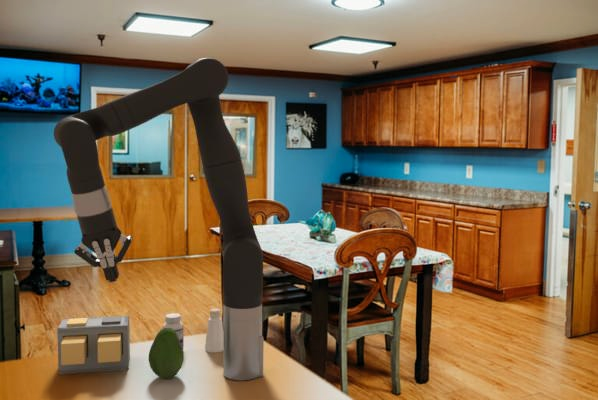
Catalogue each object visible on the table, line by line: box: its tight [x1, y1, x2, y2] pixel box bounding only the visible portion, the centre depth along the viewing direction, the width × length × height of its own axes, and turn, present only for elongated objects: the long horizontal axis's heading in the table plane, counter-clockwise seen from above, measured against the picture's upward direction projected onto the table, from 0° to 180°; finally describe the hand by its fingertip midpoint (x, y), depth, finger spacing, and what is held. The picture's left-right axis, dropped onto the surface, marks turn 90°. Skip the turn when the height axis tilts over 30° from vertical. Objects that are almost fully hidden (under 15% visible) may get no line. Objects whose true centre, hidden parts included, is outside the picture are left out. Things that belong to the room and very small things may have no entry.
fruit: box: [148, 327, 184, 380], centre depth 139 cm, size 8×8×12 cm
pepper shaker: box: [204, 308, 223, 354], centre depth 158 cm, size 5×5×11 cm
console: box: [56, 315, 131, 375], centre depth 145 cm, size 16×8×12 cm, turn 103°
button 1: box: [61, 335, 88, 365], centre depth 140 cm, size 5×8×5 cm, turn 13°
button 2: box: [98, 333, 122, 363], centre depth 141 cm, size 5×8×5 cm, turn 13°
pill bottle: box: [162, 312, 185, 350], centre depth 157 cm, size 5×5×10 cm
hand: (113, 280), depth 133 cm, fingers closed
